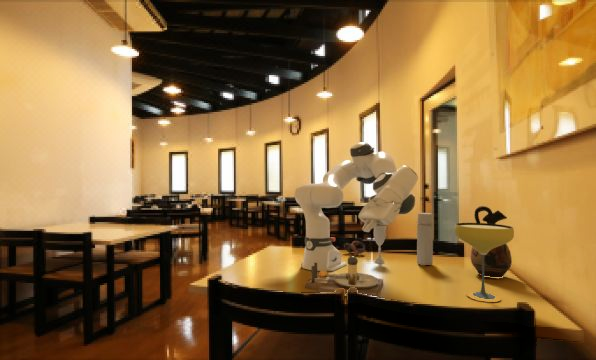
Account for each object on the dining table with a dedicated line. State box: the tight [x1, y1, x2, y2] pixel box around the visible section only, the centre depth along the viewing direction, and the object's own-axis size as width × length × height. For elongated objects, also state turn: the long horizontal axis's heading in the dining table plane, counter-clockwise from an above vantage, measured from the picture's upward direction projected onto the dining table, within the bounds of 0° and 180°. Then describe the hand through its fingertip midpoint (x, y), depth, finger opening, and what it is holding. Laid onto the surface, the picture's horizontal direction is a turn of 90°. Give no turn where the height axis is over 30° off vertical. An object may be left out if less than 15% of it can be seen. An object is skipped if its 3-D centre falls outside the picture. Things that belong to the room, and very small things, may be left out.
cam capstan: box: [318, 255, 379, 289], centre depth 129 cm, size 17×22×11 cm
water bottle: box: [416, 212, 434, 266], centre depth 169 cm, size 9×8×25 cm
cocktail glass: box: [454, 222, 515, 299], centre depth 120 cm, size 18×18×25 cm
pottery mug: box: [343, 240, 366, 257], centre depth 191 cm, size 12×10×8 cm
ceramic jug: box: [470, 205, 513, 277], centre depth 148 cm, size 17×15×30 cm
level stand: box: [304, 263, 384, 297], centre depth 130 cm, size 20×26×8 cm
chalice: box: [373, 224, 388, 265], centre depth 172 cm, size 7×7×18 cm
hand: (364, 230), depth 123 cm, fingers closed
